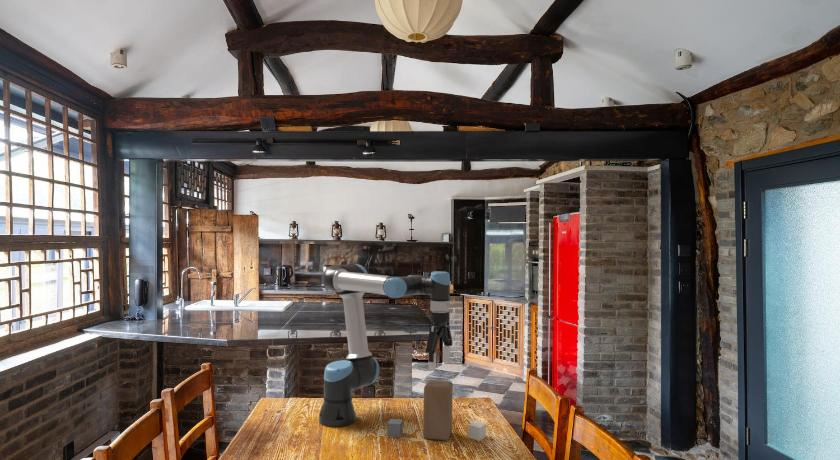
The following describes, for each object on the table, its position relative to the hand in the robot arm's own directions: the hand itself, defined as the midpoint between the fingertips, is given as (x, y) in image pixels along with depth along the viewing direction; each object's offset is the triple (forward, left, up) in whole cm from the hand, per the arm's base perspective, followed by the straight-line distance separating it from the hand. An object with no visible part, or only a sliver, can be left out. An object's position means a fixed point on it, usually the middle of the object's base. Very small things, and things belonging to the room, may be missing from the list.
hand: (439, 366), depth 188 cm
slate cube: (-15, -7, -27) cm, 32 cm away
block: (0, 0, -27) cm, 27 cm away
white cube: (+14, +6, -27) cm, 31 cm away
